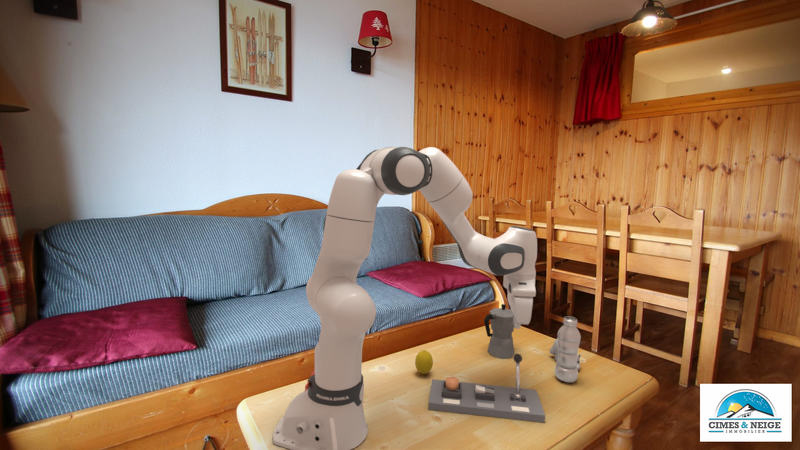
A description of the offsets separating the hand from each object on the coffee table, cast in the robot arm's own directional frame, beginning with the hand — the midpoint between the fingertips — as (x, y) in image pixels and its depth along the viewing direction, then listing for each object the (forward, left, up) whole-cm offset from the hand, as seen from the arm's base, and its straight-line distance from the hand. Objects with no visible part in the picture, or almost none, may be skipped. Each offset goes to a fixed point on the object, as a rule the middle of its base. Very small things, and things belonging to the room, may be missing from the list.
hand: (516, 326), depth 113 cm
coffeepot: (-2, +20, -19) cm, 28 cm away
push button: (-18, -11, -15) cm, 26 cm away
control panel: (-9, -11, -19) cm, 23 cm away
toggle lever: (0, -11, -16) cm, 19 cm away
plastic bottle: (+17, +6, -19) cm, 26 cm away
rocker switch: (-9, -11, -15) cm, 21 cm away
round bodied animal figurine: (+20, +17, -19) cm, 32 cm away
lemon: (-27, +1, -19) cm, 33 cm away
